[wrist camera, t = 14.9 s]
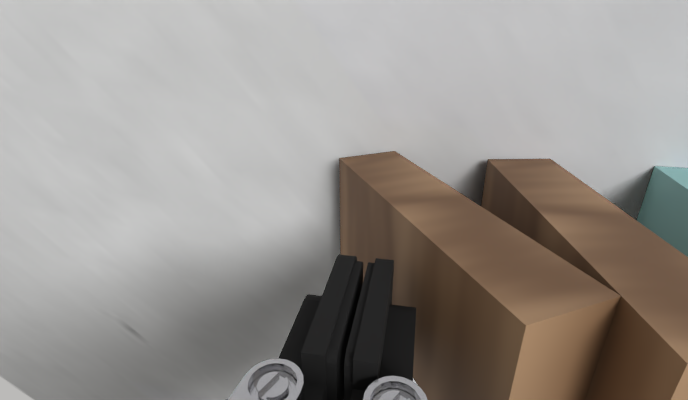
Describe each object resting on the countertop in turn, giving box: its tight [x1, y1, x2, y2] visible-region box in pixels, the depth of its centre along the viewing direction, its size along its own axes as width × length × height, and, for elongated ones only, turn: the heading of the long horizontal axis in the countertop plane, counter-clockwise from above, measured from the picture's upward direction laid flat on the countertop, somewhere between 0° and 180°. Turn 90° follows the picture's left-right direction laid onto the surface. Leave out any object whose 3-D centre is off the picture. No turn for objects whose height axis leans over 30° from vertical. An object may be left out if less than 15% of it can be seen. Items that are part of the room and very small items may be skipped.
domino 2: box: [481, 159, 688, 400], centre depth 12 cm, size 2×5×10 cm, turn 0°
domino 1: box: [339, 151, 621, 400], centre depth 13 cm, size 2×5×10 cm, turn 0°
